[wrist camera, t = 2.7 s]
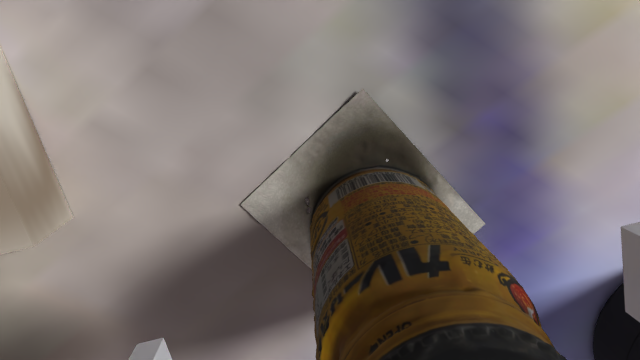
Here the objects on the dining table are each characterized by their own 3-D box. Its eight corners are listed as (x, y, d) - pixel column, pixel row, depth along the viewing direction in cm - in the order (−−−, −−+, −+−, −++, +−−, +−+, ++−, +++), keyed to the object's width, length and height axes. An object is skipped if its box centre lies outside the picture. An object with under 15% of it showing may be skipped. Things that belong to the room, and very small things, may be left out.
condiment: (367, 319, 21) (447, 627, 10) (240, 203, 19) (158, 419, 8) (483, 222, 20) (727, 441, 9) (361, 87, 18) (470, 144, 7)
